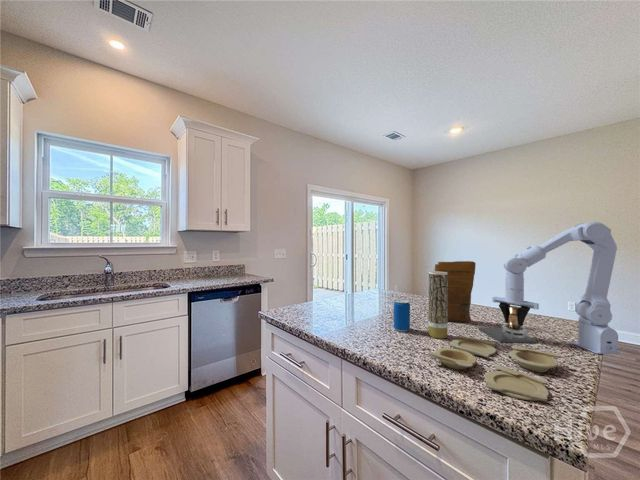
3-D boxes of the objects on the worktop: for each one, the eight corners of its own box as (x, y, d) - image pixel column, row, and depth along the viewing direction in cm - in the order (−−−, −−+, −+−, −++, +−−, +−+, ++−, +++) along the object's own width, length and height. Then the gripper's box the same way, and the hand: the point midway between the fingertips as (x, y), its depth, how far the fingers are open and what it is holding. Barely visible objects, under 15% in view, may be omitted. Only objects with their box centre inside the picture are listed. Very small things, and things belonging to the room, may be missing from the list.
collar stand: (536, 342, 98) (536, 332, 98) (500, 342, 98) (500, 331, 98) (509, 330, 112) (509, 320, 112) (478, 329, 112) (478, 320, 112)
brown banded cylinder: (523, 332, 101) (523, 308, 101) (512, 332, 101) (512, 308, 101) (515, 328, 105) (515, 305, 105) (505, 328, 105) (505, 305, 105)
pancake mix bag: (478, 324, 120) (479, 261, 120) (434, 322, 122) (435, 261, 122) (471, 319, 127) (472, 260, 127) (430, 318, 128) (430, 260, 128)
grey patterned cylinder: (449, 340, 100) (449, 273, 100) (430, 338, 102) (430, 273, 102) (444, 333, 107) (445, 271, 107) (426, 332, 108) (427, 271, 108)
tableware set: (460, 338, 103) (460, 327, 103) (562, 364, 82) (562, 351, 82) (417, 367, 79) (417, 354, 79) (546, 415, 58) (546, 396, 58)
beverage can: (407, 327, 114) (408, 299, 114) (411, 332, 108) (411, 303, 108) (392, 326, 115) (392, 299, 115) (395, 332, 109) (395, 302, 109)
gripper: (541, 290, 100) (540, 327, 100) (497, 285, 111) (496, 317, 111) (535, 292, 95) (535, 330, 95) (490, 287, 107) (490, 320, 107)
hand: (514, 324), depth 103 cm, fingers closed on brown banded cylinder, 4 cm apart
